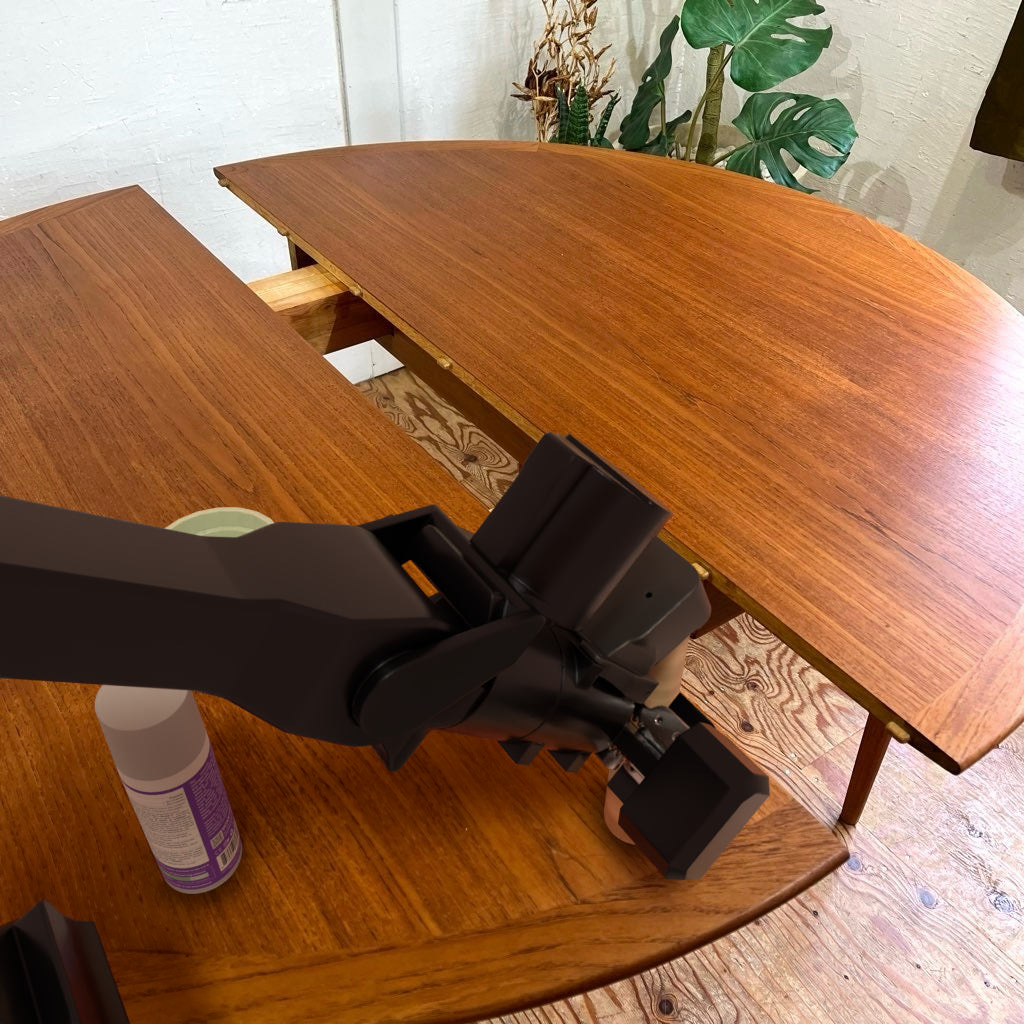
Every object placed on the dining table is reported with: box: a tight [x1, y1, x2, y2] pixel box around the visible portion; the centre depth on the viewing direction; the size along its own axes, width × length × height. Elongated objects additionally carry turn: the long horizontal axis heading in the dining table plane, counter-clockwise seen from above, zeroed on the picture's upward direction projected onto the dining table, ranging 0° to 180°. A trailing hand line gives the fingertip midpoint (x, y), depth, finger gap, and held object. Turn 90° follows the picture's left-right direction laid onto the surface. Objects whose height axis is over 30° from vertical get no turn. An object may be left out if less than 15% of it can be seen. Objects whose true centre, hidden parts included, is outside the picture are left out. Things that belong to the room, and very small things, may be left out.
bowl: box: [164, 506, 275, 537], centre depth 73 cm, size 10×10×4 cm
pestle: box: [603, 634, 691, 846], centre depth 53 cm, size 4×4×19 cm
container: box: [94, 685, 243, 895], centre depth 52 cm, size 5×5×15 cm
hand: (668, 718), depth 54 cm, fingers open, 4 cm apart
